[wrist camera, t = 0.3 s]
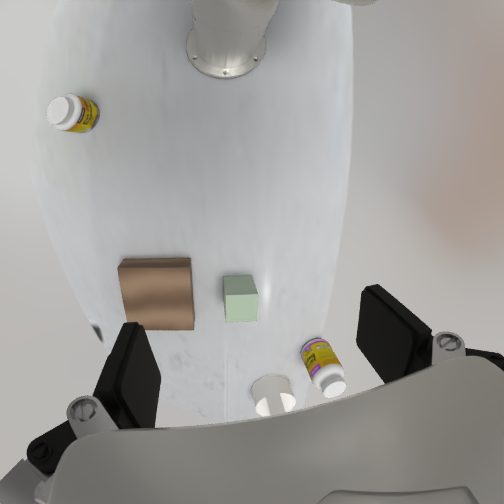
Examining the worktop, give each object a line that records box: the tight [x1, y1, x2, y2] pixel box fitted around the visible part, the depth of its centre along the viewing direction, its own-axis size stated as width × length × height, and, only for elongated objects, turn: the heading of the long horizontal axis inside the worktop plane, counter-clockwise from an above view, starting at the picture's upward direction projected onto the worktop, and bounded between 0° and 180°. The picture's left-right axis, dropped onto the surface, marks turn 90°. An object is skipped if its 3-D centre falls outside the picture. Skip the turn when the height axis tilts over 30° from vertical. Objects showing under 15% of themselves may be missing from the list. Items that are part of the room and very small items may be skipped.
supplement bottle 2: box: [301, 339, 346, 398], centre depth 52 cm, size 7×7×13 cm
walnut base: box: [117, 258, 195, 330], centre depth 46 cm, size 12×12×4 cm
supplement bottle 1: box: [46, 94, 99, 133], centre depth 31 cm, size 6×6×10 cm
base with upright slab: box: [252, 375, 296, 417], centre depth 55 cm, size 9×9×12 cm
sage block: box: [223, 275, 258, 322], centre depth 47 cm, size 5×5×7 cm
